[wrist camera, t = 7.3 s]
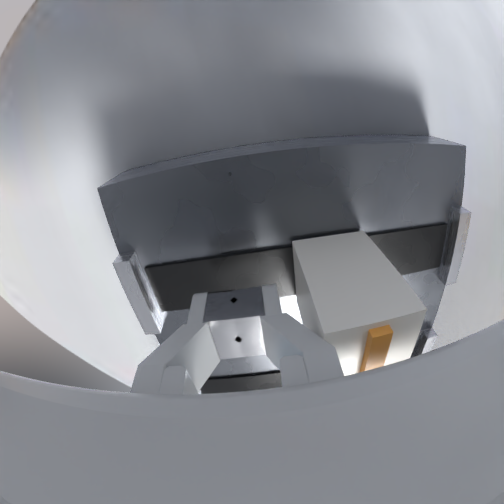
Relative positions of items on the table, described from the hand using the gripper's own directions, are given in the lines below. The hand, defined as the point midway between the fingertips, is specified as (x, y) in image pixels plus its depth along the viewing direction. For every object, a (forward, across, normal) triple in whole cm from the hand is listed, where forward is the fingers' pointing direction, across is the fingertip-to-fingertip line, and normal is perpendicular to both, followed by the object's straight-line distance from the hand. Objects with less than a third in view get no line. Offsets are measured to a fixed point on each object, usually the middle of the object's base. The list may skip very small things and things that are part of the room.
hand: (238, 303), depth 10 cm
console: (+5, -3, +4) cm, 7 cm away
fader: (+2, -4, 0) cm, 4 cm away
